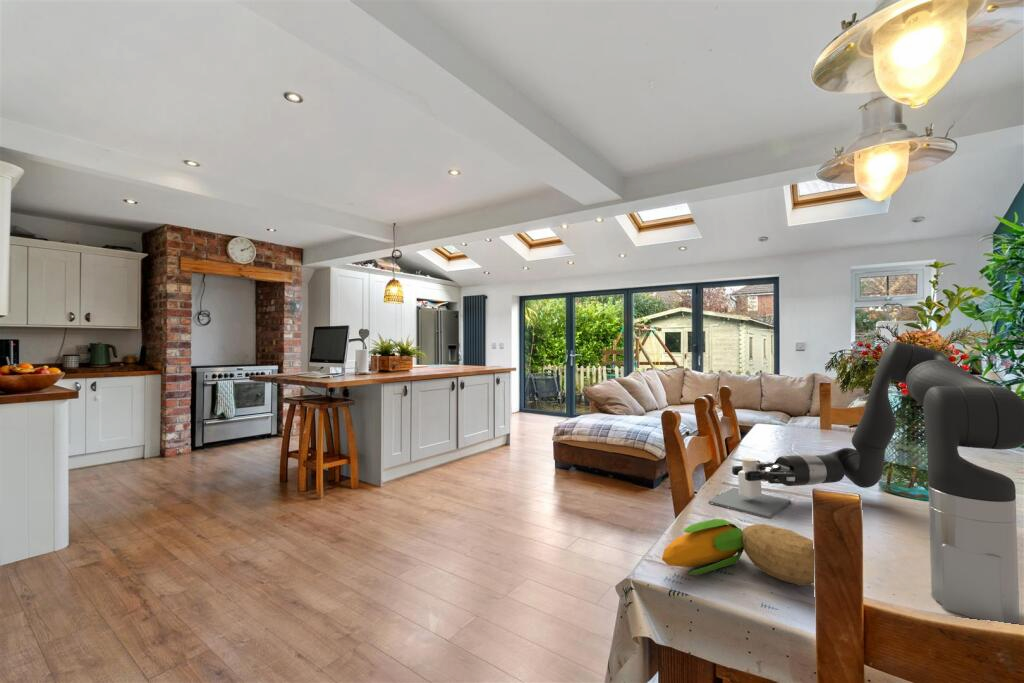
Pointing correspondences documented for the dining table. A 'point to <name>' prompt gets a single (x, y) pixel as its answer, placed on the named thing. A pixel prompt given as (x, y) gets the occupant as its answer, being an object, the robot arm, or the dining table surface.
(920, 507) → the dining table surface
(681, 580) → the dining table surface
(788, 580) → the potato
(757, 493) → the pepper shaker
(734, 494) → the slate mat
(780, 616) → the dining table surface
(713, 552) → the corn
